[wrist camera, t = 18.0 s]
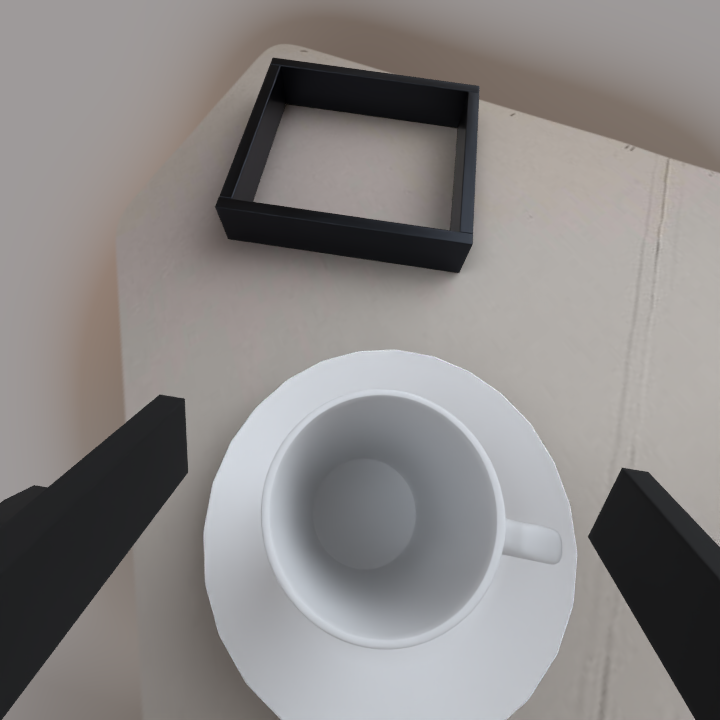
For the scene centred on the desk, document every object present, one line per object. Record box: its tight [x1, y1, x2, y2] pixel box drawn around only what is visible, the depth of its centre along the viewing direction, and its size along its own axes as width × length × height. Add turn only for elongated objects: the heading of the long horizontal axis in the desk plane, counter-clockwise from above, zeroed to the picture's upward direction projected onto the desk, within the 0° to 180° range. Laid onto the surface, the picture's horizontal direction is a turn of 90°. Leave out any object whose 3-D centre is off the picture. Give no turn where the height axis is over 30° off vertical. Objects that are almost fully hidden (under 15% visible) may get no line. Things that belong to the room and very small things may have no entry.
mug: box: [261, 389, 562, 650], centre depth 16 cm, size 10×7×12 cm, turn 77°
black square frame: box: [215, 58, 479, 273], centre depth 33 cm, size 19×18×4 cm
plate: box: [203, 350, 577, 720], centre depth 23 cm, size 21×21×2 cm
